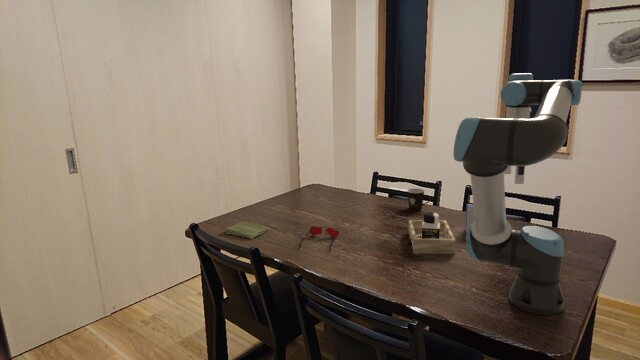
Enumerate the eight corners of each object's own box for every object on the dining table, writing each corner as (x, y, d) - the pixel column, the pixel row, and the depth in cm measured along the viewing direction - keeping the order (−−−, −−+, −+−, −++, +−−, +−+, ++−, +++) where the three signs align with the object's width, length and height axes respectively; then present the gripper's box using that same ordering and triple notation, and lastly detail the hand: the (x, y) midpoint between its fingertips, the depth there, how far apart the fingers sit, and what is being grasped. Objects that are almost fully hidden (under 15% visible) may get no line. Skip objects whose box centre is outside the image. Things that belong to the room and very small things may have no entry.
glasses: (339, 237, 188) (339, 227, 186) (330, 253, 172) (329, 242, 171) (310, 235, 192) (309, 225, 190) (297, 250, 176) (297, 239, 175)
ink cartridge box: (487, 229, 189) (489, 198, 185) (490, 234, 184) (492, 202, 180) (464, 228, 191) (466, 198, 187) (466, 233, 186) (467, 202, 182)
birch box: (454, 254, 166) (455, 240, 165) (413, 253, 168) (413, 239, 167) (445, 232, 187) (445, 220, 186) (408, 232, 189) (408, 220, 188)
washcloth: (252, 241, 187) (251, 234, 187) (222, 234, 196) (222, 228, 195) (270, 231, 198) (270, 225, 197) (241, 225, 207) (241, 219, 206)
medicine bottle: (421, 243, 175) (422, 216, 172) (421, 236, 182) (422, 210, 179) (439, 244, 173) (440, 216, 170) (439, 237, 180) (440, 211, 177)
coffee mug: (403, 208, 222) (403, 189, 219) (417, 205, 225) (417, 187, 222) (417, 214, 211) (417, 195, 209) (431, 211, 215) (431, 192, 212)
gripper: (543, 123, 134) (536, 188, 140) (516, 114, 158) (512, 170, 164) (518, 124, 135) (512, 188, 141) (495, 115, 159) (492, 170, 164)
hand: (512, 178), depth 152 cm, fingers open, 13 cm apart
